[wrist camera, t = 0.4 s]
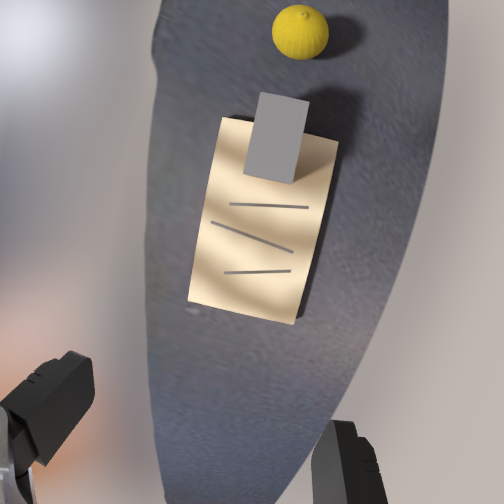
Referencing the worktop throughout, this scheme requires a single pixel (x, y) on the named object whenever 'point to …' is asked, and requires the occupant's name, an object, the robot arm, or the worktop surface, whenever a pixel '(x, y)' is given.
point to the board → (259, 228)
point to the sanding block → (276, 138)
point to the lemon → (300, 32)
